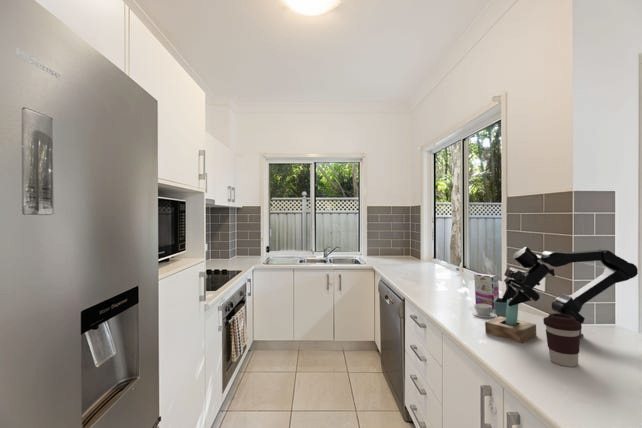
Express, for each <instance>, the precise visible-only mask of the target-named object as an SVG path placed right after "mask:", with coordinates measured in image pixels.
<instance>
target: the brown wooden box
mask: <svg viewBox="0 0 642 428" xmlns="http://www.w3.org/2000/svg"><path fill="white" fill-rule="evenodd" d="M505 323H506V317H502V316H499V317H497V316H495V317H493V318H492V319H489V320H487V321H484V331H485V334H489V335H492V336H496V337H499V338H502V339H506V340H510V341H513V342H517V343H521V344H523V343H524V344H525V342H527V341H529V340H531V339H533V338H535V337H537V324H536V323H532V322H527V321H525V320H519V319H517V326H515V327H513V326H509V325H505Z"/></svg>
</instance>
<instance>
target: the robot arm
mask: <svg viewBox="0 0 642 428" xmlns="http://www.w3.org/2000/svg"><path fill="white" fill-rule="evenodd" d="M512 259H513V260H514V261H516V262H517V263H518V264H519V265H520V266H522V268H524V269H527V268H528V270H526V272H524V271H521V270H519V269H515V270H513V269H509V268H506V270H505V272H504V276H505V277H506V278H505V279H504V280H503V282H504V284H505V287H506V289H505V291H504V294H503V295H502V297H501V298H502V299H501V301H503V302H505V301H507V299H511V300H510V302H509V303H508V305H509V306H513V305H516V304H518V305H519V304H523V303H526V302H531V301H534V302H537V301H538V300H539V299H540V294H539V293H538V292H537V291H536V290H534V288H535V287H536V286H540V285H541V281H542V280H543V279H544V278H545V277H547V275H549V276H551V277H555V276H556V275H555V269H554V268H558V267H563V266H567V265H568V264H572V263H581V262H582V263H584V262H596V261H597V262H598V261H600V262H601V264H602V265H603V266H605V268H604V269H603V272H602V274H600V275H599V276H597V277H596V278H594V279H593V280H592V281H589V282H588V283H587V284H585V285H584V286H583V287H581V288H579V289H578V290H577V291H575V292H574V293H572V294H570V295H567V294H565V293H561V294H560V295H558V297H556V298H553V301H551V310H552V311H553V312H555V313H559V314H566V315H570V316H573V317H574V318H575V319H576V321H578V322H580V323H581V324H584V321H585V319H586V318H585V317H584V316H583V315H582V314H581V313H580V312H581V310H582V308H583V306H584V305H585V304H586V303H588V302H589V301H590V300H592V299H594V298H595V297H597V296H598V295H600V294H601V293H603V292H604V291H606V290H607V289H609V288H610V287H612V286H613V285H615V284H617V283H622V282H625V281H629V280H631V279H634V278H636V276H637V275H638V274H639V273H638V271H639V269H638V267H637V265H635V264H634V263H632V262H628V261H627V260H625V259H624V258H622V257H620V256H618V255H616V254H615V253H614V252H612V251H610V250H608V249H601V248H600V249H596V250H582V251H570V252H569V251H568V252H564V251H554V250H552V251H551V250H544V251H542V253H538V254H536V253H534V252H533V251H532V250H531V249H530V248H529V247H527V246H524V247H523V248H520V249H519V250H517V251H515V253H514V254H513V255H512ZM540 262H541V263H540ZM548 266H550V267H551V268H550V267H548ZM553 267H554V268H553ZM579 334H580V339H581V338H582V337H583V336H584V334H583V333H582V329H581V330H579Z"/></svg>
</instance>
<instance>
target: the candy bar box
mask: <svg viewBox="0 0 642 428" xmlns="http://www.w3.org/2000/svg"><path fill="white" fill-rule="evenodd" d="M473 276H474V292H475V293H474V294H475V296H474V297H475V298H474V299H475V304H488V305H491V306H492V309H495V306H494V301H495V300H496V298H500V289H499V287H500V286H499V276H498V275H493V274H485V273H479V272H478V273H474V275H473Z"/></svg>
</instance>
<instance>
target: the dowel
mask: <svg viewBox="0 0 642 428" xmlns="http://www.w3.org/2000/svg"><path fill="white" fill-rule="evenodd" d="M511 299H512V298H511ZM511 299H507V309H506V323H505V325H509V326H513V327H515V326H517V320H518V318H519V317H518V316H519V304H516V305H513V306H509V305H508V303H509V302H510V300H511Z"/></svg>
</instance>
